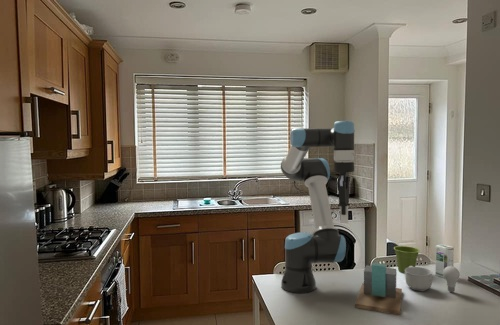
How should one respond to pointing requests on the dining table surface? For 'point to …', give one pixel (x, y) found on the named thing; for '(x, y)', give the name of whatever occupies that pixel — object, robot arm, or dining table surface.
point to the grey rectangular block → (389, 281)
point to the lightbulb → (451, 277)
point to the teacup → (418, 278)
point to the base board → (379, 302)
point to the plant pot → (406, 257)
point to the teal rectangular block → (379, 279)
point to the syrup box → (443, 258)
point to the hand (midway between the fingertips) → (344, 222)
